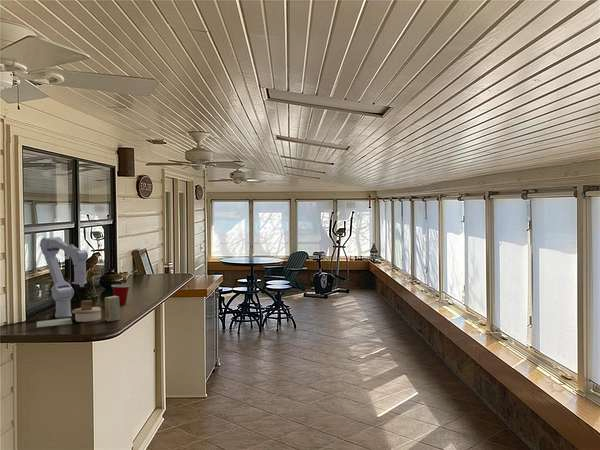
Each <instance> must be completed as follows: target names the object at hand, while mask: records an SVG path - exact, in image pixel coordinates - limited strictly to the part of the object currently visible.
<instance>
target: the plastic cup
mask: <svg viewBox="0 0 600 450" xmlns="http://www.w3.org/2000/svg"><path fill="white" fill-rule="evenodd" d="M130 287H131V285H129V284H111V289H112V293H113V296H119V304H120V306H125V305H126V304H127V299H128V292H129V290H130Z"/></svg>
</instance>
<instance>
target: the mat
mask: <svg viewBox="0 0 600 450" xmlns="http://www.w3.org/2000/svg"><path fill="white" fill-rule="evenodd" d="M72 324H73V321H72V318H70V317H69V318H68V317H67V318H56V319H49V320H39V321H36V328H43V327H54V326H55V327H56V326H64V325H72Z"/></svg>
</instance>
